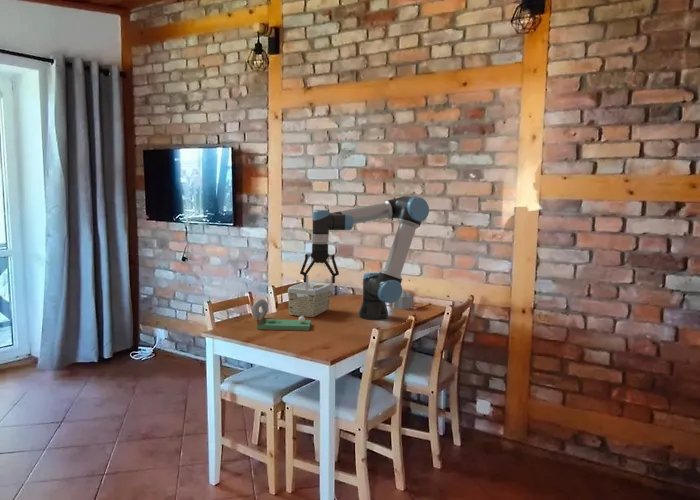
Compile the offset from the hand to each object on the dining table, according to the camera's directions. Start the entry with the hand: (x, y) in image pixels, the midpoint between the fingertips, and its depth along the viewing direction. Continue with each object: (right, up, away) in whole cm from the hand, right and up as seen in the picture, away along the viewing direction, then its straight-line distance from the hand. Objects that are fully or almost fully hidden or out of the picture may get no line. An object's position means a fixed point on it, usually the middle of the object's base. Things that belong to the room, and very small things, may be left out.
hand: (319, 289), depth 270 cm
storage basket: (-7, -15, +34) cm, 38 cm away
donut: (-30, -16, +17) cm, 38 cm away
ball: (-8, -14, +1) cm, 17 cm away
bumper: (-28, -15, +2) cm, 32 cm away
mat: (-16, -18, +2) cm, 24 cm away
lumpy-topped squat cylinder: (+45, -14, +54) cm, 71 cm away
